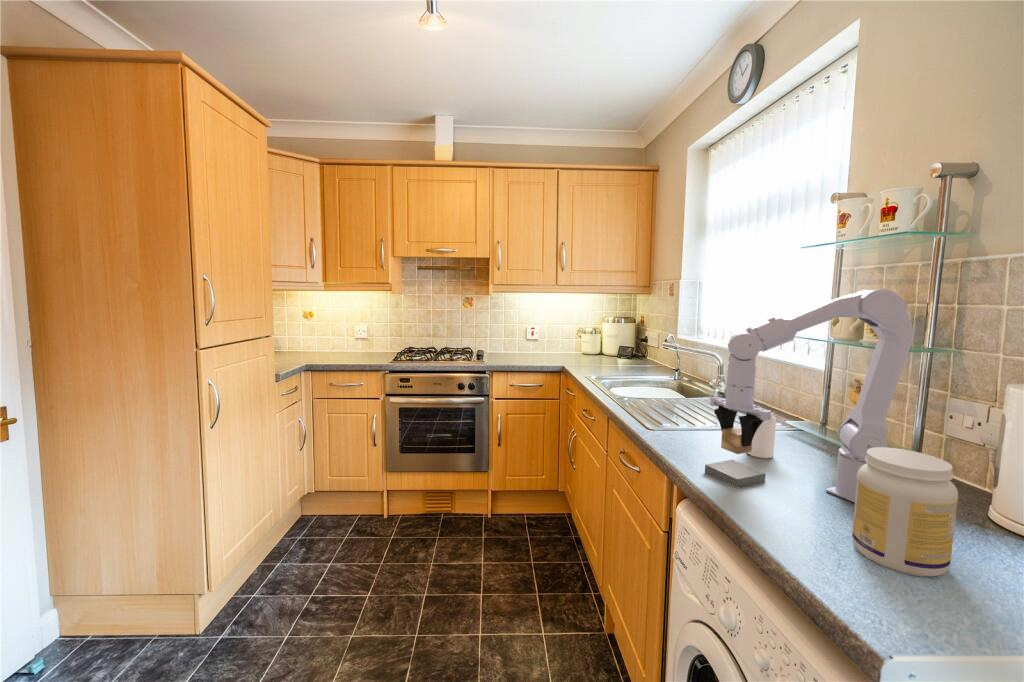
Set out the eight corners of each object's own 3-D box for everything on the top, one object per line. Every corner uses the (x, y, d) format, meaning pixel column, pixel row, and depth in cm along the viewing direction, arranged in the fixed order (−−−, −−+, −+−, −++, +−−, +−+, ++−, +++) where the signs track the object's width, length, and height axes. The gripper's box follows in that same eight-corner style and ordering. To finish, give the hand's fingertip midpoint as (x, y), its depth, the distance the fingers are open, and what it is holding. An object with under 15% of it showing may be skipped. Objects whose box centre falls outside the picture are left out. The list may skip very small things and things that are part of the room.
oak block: (751, 451, 101) (752, 432, 101) (737, 454, 99) (738, 435, 99) (734, 445, 105) (735, 427, 105) (721, 447, 103) (722, 429, 103)
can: (766, 451, 121) (769, 408, 119) (778, 459, 114) (781, 415, 113) (741, 449, 121) (744, 407, 120) (752, 458, 115) (755, 414, 114)
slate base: (764, 481, 101) (765, 473, 100) (737, 488, 97) (737, 479, 97) (731, 467, 109) (732, 459, 109) (704, 472, 105) (705, 464, 105)
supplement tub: (946, 555, 73) (958, 457, 71) (952, 592, 63) (966, 480, 62) (853, 528, 81) (862, 440, 79) (847, 557, 72) (856, 458, 70)
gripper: (702, 380, 106) (699, 434, 107) (756, 393, 92) (752, 455, 94) (723, 378, 108) (720, 431, 110) (779, 390, 95) (774, 450, 97)
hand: (736, 442), depth 102 cm, fingers closed on oak block, 4 cm apart
